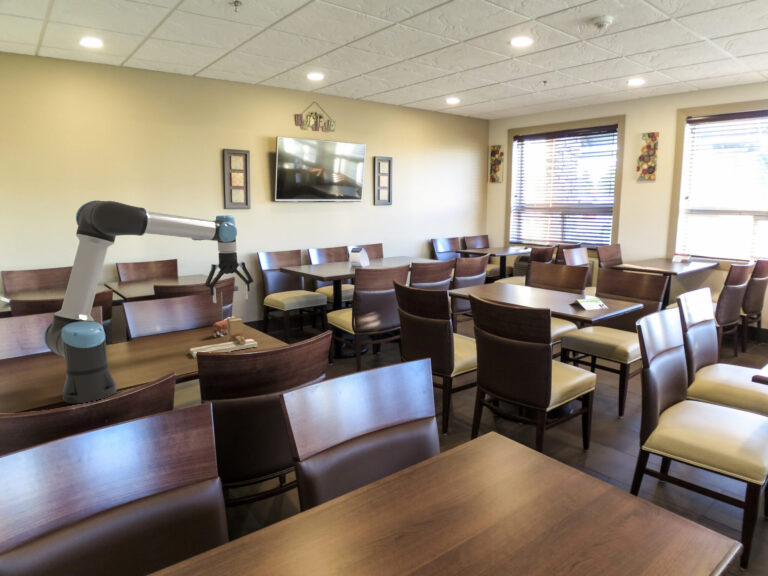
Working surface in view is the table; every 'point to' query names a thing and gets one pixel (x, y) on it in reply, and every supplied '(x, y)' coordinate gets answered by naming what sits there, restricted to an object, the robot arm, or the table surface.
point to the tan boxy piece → (235, 330)
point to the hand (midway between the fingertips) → (230, 300)
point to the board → (224, 347)
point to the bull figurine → (220, 327)
